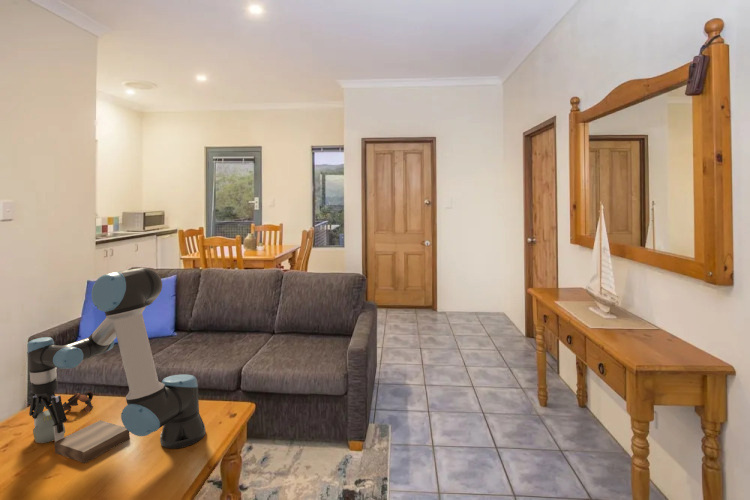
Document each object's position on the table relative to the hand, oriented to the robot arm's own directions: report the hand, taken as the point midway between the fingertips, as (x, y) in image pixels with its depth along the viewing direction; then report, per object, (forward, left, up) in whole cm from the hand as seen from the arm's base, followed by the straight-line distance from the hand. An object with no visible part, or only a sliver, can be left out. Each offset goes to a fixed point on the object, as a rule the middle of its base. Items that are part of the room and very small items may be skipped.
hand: (49, 437), depth 152 cm
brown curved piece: (+13, -19, -1) cm, 23 cm away
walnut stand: (-20, -3, -1) cm, 20 cm away
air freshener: (0, 0, -1) cm, 1 cm away
